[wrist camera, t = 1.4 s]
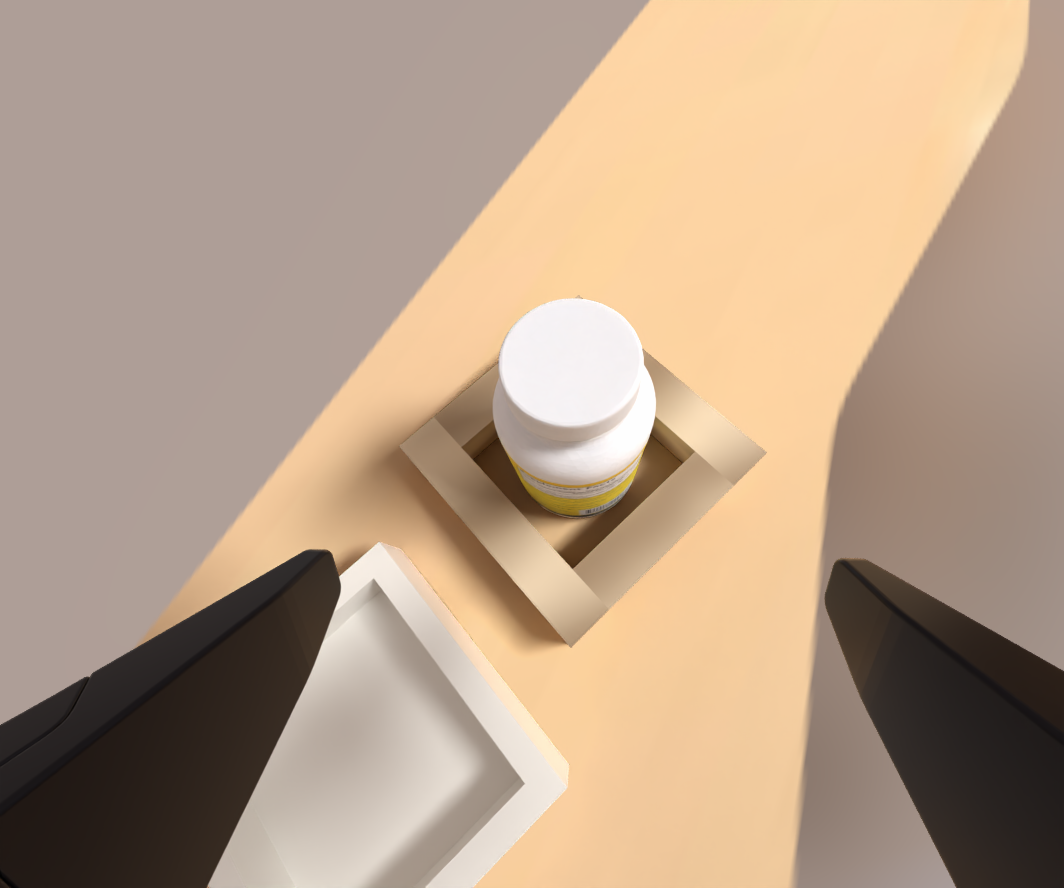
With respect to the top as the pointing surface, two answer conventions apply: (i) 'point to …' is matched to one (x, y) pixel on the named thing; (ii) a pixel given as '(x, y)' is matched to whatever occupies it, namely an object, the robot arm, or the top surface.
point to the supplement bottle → (574, 405)
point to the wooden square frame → (632, 547)
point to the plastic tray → (394, 753)
